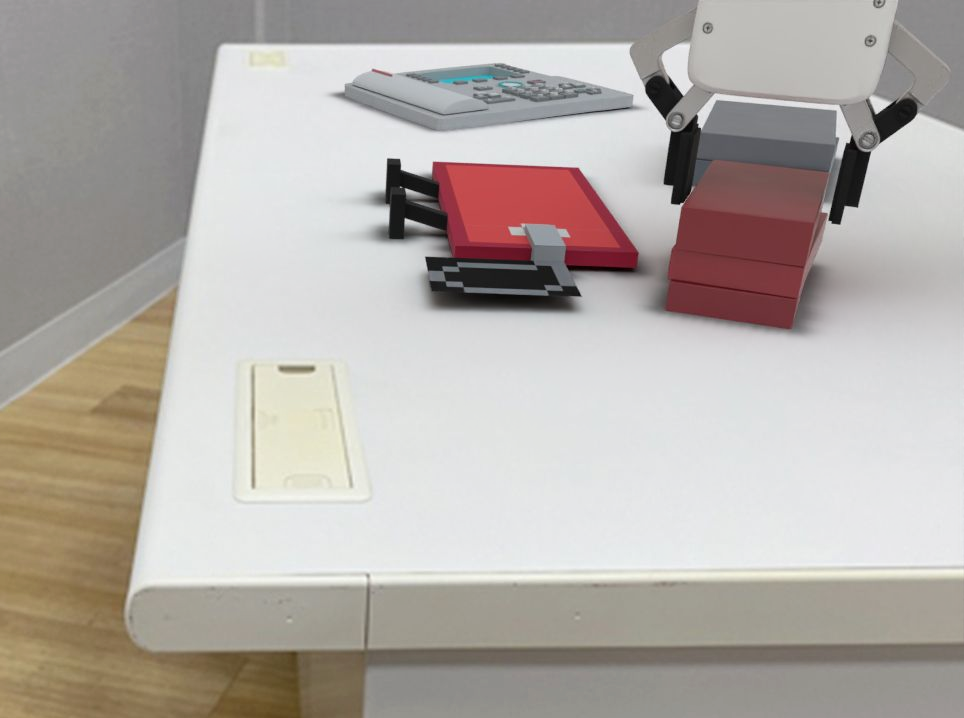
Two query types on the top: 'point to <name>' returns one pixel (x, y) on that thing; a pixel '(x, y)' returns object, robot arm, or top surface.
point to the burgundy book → (753, 212)
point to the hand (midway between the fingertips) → (756, 207)
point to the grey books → (768, 136)
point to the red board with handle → (509, 226)
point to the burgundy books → (738, 286)
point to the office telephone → (480, 95)
